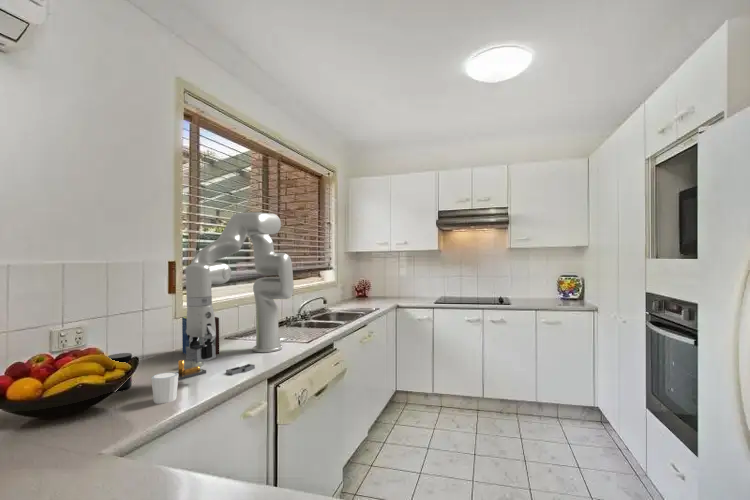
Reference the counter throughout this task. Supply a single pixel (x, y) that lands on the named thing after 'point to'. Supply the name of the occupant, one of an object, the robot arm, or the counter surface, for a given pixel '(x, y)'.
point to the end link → (198, 353)
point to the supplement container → (125, 358)
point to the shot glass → (164, 387)
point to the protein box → (186, 341)
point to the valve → (196, 364)
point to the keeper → (188, 371)
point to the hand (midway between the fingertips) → (201, 356)
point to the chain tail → (240, 369)
